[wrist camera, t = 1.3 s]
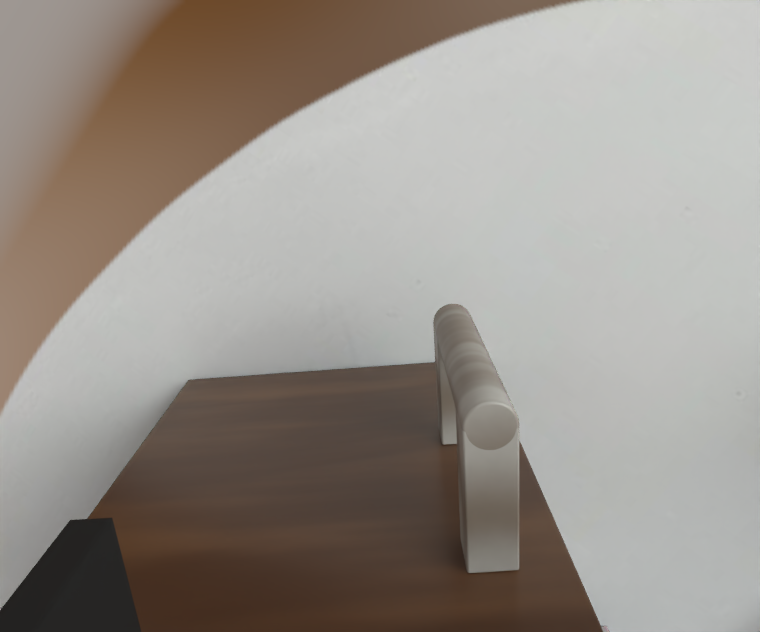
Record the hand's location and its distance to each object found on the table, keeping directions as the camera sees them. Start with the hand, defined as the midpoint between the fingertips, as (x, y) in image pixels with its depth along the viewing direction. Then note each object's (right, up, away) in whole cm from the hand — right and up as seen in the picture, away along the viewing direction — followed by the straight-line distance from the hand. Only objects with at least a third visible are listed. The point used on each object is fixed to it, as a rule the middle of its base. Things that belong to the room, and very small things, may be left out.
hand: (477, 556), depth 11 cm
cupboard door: (-5, +4, +22) cm, 23 cm away
